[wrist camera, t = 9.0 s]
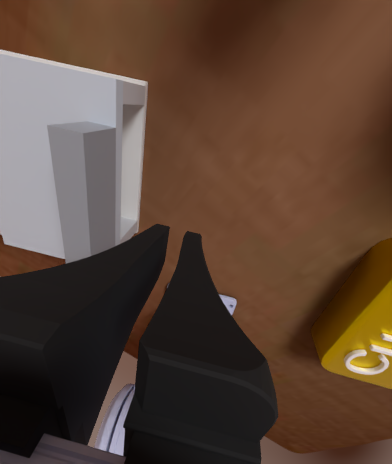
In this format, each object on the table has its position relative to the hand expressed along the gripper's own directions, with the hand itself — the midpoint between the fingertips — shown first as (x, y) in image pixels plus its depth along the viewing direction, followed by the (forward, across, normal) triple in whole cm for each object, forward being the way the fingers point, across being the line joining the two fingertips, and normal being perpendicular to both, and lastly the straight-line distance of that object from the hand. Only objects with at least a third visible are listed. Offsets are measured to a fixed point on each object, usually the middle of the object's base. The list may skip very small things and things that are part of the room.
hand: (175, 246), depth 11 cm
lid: (+5, +9, 0) cm, 10 cm away
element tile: (+11, -23, +8) cm, 27 cm away
